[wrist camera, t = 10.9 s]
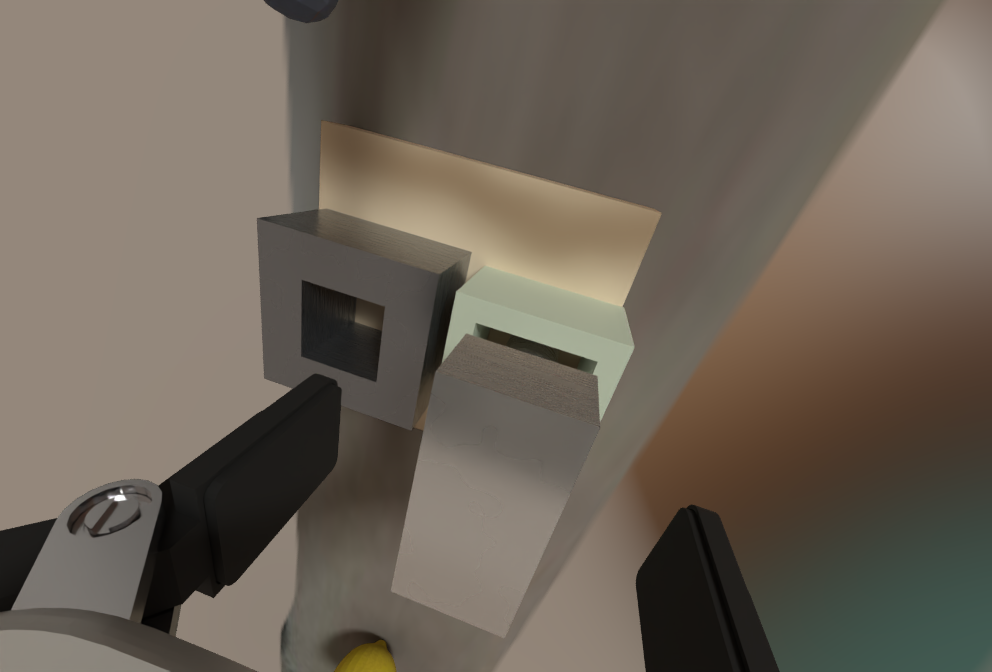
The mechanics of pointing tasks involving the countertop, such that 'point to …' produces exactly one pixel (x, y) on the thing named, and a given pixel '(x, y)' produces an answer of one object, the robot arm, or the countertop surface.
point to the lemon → (368, 659)
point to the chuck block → (332, 307)
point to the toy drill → (304, 9)
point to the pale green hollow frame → (545, 322)
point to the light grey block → (493, 476)
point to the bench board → (485, 217)
